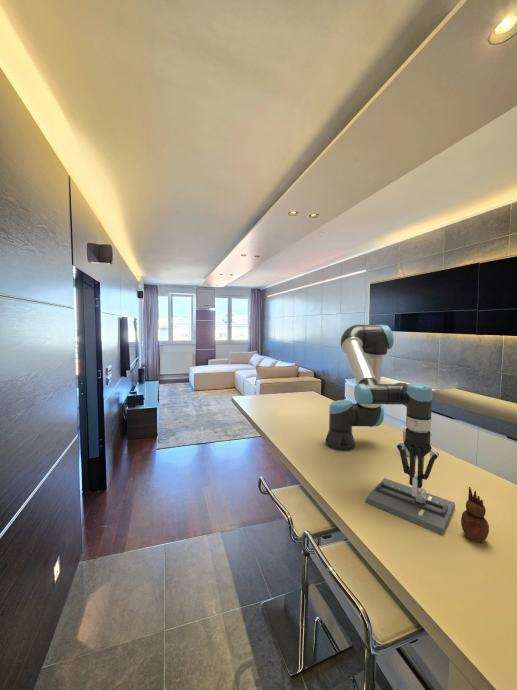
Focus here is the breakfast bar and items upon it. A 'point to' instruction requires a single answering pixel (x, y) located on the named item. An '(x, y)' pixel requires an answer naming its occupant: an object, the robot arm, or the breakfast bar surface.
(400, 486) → the console
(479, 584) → the breakfast bar surface
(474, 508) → the wooden figurine
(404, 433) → the cup
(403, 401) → the robot arm
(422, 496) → the fader
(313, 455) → the breakfast bar surface
